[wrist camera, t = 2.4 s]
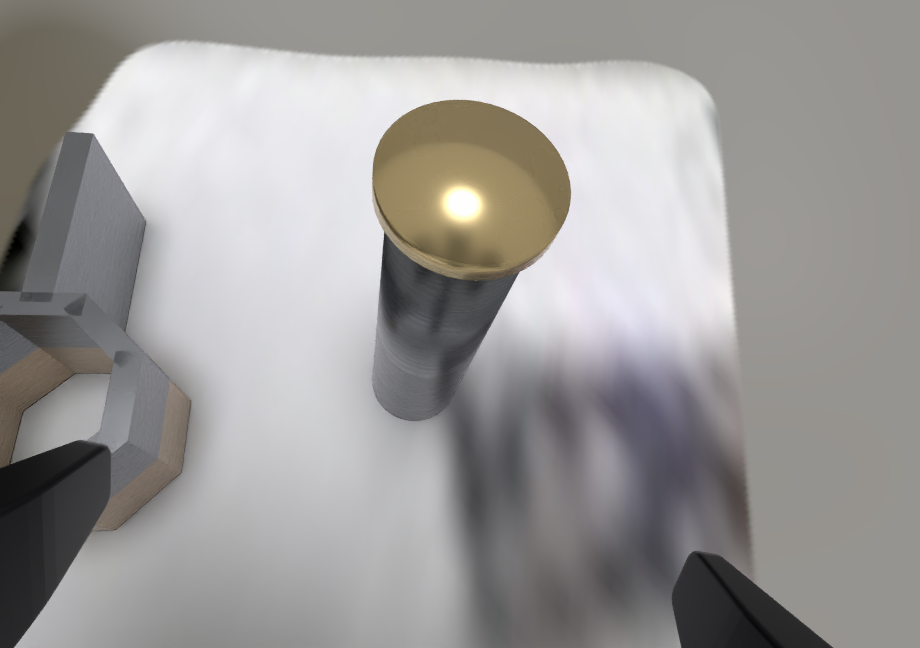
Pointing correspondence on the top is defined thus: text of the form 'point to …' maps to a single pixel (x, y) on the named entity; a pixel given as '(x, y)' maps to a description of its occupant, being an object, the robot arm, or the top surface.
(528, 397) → the top surface
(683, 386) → the top surface
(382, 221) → the hinge pin
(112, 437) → the bronze hinge
